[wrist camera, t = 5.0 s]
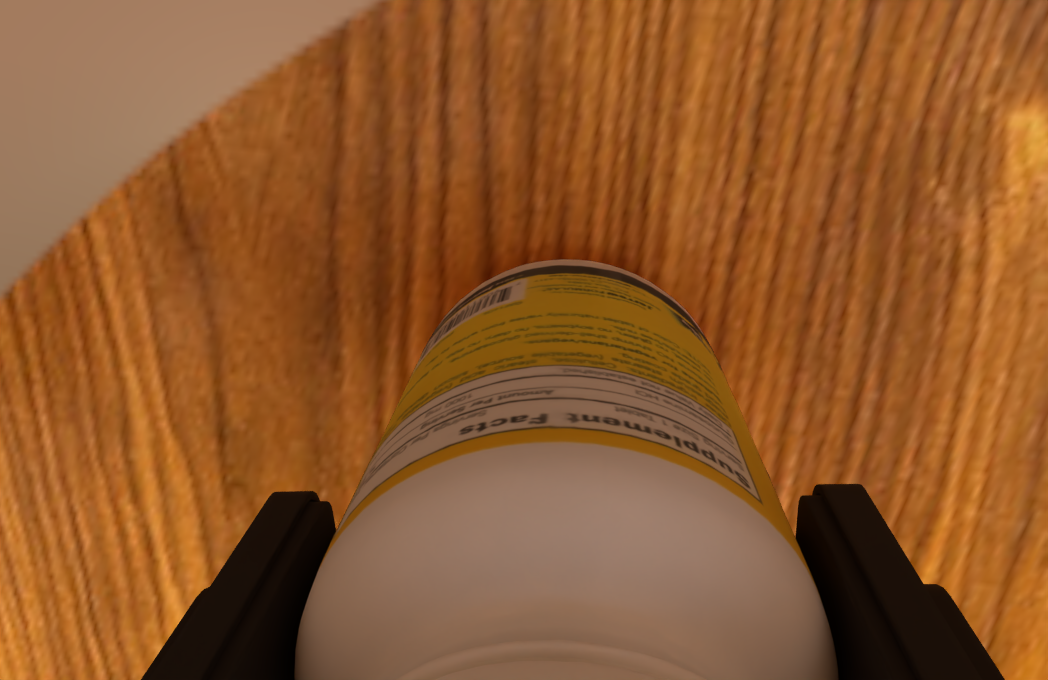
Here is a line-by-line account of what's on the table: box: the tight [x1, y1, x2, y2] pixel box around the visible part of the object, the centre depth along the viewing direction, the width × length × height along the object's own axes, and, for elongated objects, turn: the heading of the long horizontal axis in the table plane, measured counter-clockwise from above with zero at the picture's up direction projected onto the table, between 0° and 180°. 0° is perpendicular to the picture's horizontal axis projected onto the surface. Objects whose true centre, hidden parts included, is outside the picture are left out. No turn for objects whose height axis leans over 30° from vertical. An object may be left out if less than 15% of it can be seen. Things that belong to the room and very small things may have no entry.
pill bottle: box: [294, 259, 839, 680], centre depth 11 cm, size 6×6×11 cm
